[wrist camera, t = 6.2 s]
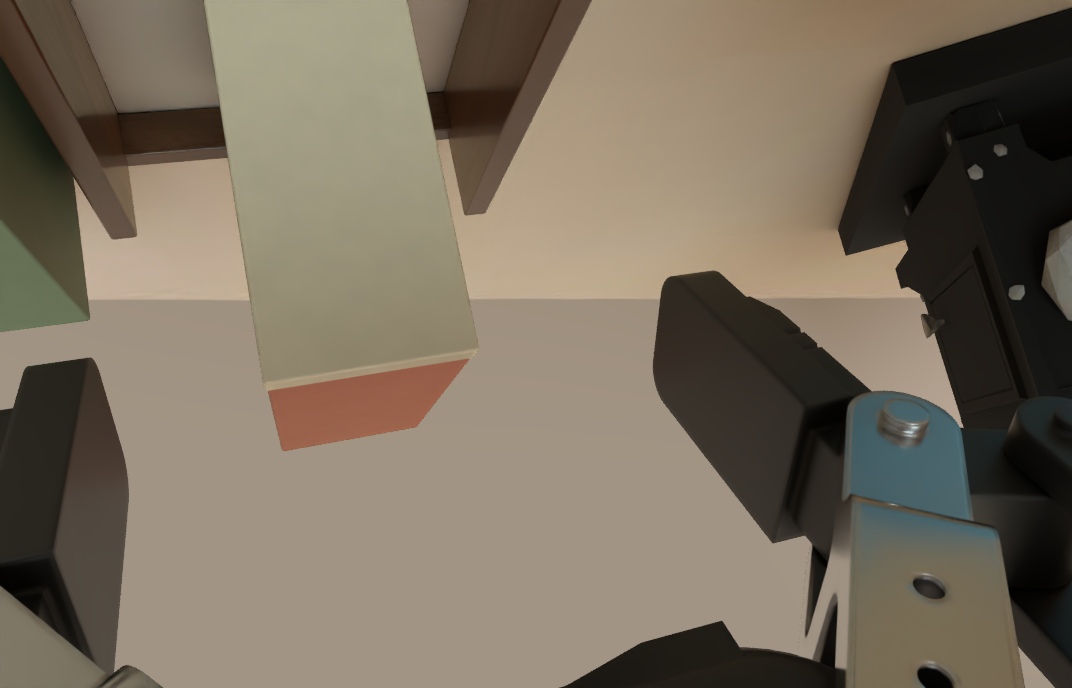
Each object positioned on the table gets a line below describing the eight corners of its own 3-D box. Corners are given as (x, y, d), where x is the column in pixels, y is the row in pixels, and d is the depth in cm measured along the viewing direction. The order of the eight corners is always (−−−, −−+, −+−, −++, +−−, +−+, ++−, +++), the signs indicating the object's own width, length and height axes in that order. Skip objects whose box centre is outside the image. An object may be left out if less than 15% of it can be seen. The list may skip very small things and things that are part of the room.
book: (222, 81, 27) (280, 452, 25) (176, -173, 18) (262, 384, 16) (352, 73, 29) (418, 427, 26) (372, -169, 19) (480, 350, 17)
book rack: (-59, 138, 27) (-48, 273, 26) (-445, -308, 13) (-447, -53, 12) (461, 101, 32) (485, 214, 31) (578, -255, 18) (627, -69, 17)
